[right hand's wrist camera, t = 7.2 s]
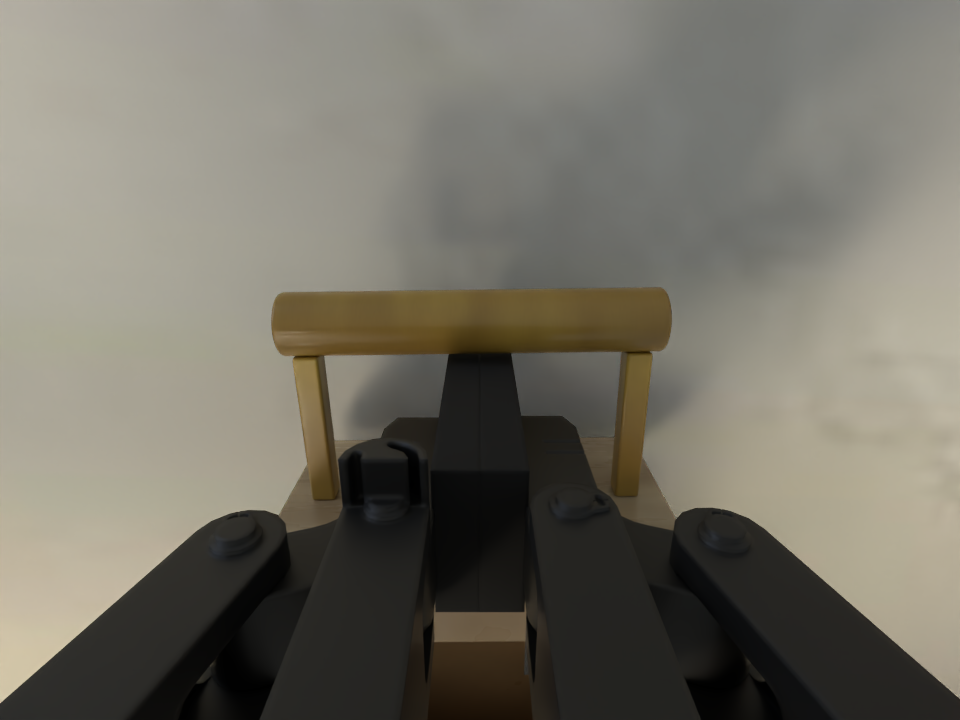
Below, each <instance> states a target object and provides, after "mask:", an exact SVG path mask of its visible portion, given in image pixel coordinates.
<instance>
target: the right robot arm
mask: <svg viewBox="0 0 960 720" xmlns="http://www.w3.org/2000/svg"><path fill="white" fill-rule="evenodd" d="M338 466H339V476H340V486H341V495H342V505H343V507H342V510H341V512H340V515H339V518H338V519H336V520H334V521H331V522H329V523H327V524H323V525H320V526H316V527H312V528H308V529H303V530H298V531H293V532H289V533H287V530H286V523H285V522H284V521H283V520H282V519H281V518H280V517H279V516H278V515H276V514H273V513H270V512H267V511H257V510H247V511H240V512H235V513H231V514H228V515H226V516H223V517H221V518H218V519H216V520H213V521H211V522H210V523H208V524H207V525H205V526H204V527H202V528H201V529H199V530H198V531H196V532H195V533H194V534H193V535H192V536H191V537H189V538H188V539H187V540H186V541H185V542H184V543H183V544H181V545H180V546H179V547H178V548H177V549H176V550H175V551H173V552H172V553H171V554H170V555H169V556H168V557H167V558H165V559H164V560H163V561H162V562H161V563H160V564H159V565H157V566H156V567H155V568H154V569H153V570H152V571H151V572H149V573H148V574H147V575H146V576H145V577H144V578H143V579H142V580H140V581H139V582H138V583H137V584H136V585H135V586H134V587H132V588H131V589H130V590H129V591H128V592H127V593H126V594H124V595H123V596H122V597H121V598H120V599H119V600H118V601H116V602H115V603H114V604H113V605H112V606H111V607H110V608H108V609H107V610H106V611H105V612H104V613H103V614H102V615H101V616H99V617H98V618H97V619H96V620H95V621H94V622H93V623H91V624H90V625H89V626H88V627H87V628H86V629H85V630H83V631H82V632H81V633H80V634H79V635H78V636H77V637H75V638H74V639H73V640H72V641H71V642H70V643H69V644H67V645H66V646H65V647H64V648H63V649H62V650H61V651H59V652H58V653H57V654H56V655H55V656H54V657H53V658H52V659H50V660H49V661H48V662H47V663H46V664H45V665H44V666H42V667H41V668H40V669H39V670H38V671H37V672H36V673H34V674H33V675H32V676H31V677H30V678H29V679H28V680H26V681H25V682H24V683H23V684H22V685H21V686H20V687H18V688H17V689H16V690H15V691H14V692H13V693H12V694H11V695H9V696H8V697H7V698H6V699H5V700H4V701H3V702H1V703H0V720H427V717H428V706H429V695H430V685H431V674H432V663H433V652H434V641H435V635H434V606H435V612H525V604H526V635H525V661H524V675H529V684H530V695H531V706H532V717H533V720H960V699H959V698H958V697H957V696H956V695H954V694H953V693H952V692H951V691H950V690H949V689H948V688H946V687H945V686H944V685H943V684H942V683H941V682H940V681H938V680H937V679H936V678H935V677H934V676H933V675H932V674H930V673H929V672H928V671H927V670H926V669H925V668H923V667H922V666H921V665H920V664H919V663H918V662H917V661H915V660H914V659H913V658H912V657H911V656H910V655H909V654H907V653H906V652H905V651H904V650H903V649H902V648H900V647H899V646H898V645H897V644H896V643H895V642H894V641H892V640H891V639H890V638H889V637H888V636H887V635H886V634H884V633H883V632H882V631H881V630H880V629H879V628H878V627H876V626H875V625H874V624H873V623H872V622H871V621H869V620H868V619H867V618H866V617H865V616H864V615H863V614H861V613H860V612H859V611H858V610H857V609H856V608H855V607H853V606H852V605H851V604H850V603H849V602H848V601H847V600H845V599H844V598H843V597H842V596H841V595H840V594H838V593H837V592H836V591H835V590H834V589H833V588H832V587H830V586H829V585H828V584H827V583H826V582H825V581H824V580H822V579H821V578H820V577H819V576H818V575H817V574H815V573H814V572H813V571H812V570H811V569H810V568H809V567H807V566H806V565H805V564H804V563H803V562H802V561H801V560H799V559H798V558H797V557H796V556H795V555H794V554H793V553H791V552H790V551H789V550H788V549H787V548H786V547H784V546H783V545H782V544H781V543H780V542H779V541H778V540H776V539H775V538H774V537H773V536H772V535H771V534H770V533H768V532H767V531H766V530H765V529H764V528H762V527H761V526H759V525H758V524H756V523H755V522H753V521H752V520H750V519H749V518H746V517H744V516H741V515H739V514H736V513H734V512H731V511H727V510H723V509H722V510H721V509H716V508H695V509H692V510H689V511H686V512H683V513H682V514H681V515H680V516H679V517H678V518H677V519H676V520H675V523H674V530H668V529H664V528H659V527H654V526H649V525H645V524H641V523H638V522H634V521H632V520H629V519H627V518H625V517H623V516H621V514H620V512H619V509H618V507H617V505H616V504H615V502H614V501H613V500H612V498H611V497H610V496H609V495H607V494H606V493H604V492H603V491H601V490H600V489H598V488H597V485H596V482H595V480H594V477H593V474H592V471H591V468H590V466H589V463H588V460H587V457H586V454H584V449H583V446H582V443H580V438H579V435H578V432H577V429H576V427H575V426H574V425H572V424H571V423H570V422H569V421H568V420H566V419H565V418H564V417H563V416H521V413H520V407H519V401H518V395H517V388H516V382H515V376H514V370H513V363H512V357H511V353H488V354H449V356H448V363H447V369H446V375H445V382H444V388H443V394H442V400H441V407H440V413H439V418H397V419H396V420H395V421H393V422H392V423H391V424H390V425H389V426H387V427H386V428H385V429H384V431H383V434H382V437H381V439H372V440H369V441H365V442H362V443H358V444H356V445H354V446H353V447H351V448H349V449H347V450H345V451H344V453H343V454H342V455H341V456H340V457H339V458H338Z"/></svg>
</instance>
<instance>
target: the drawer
mask: <svg viewBox="0 0 960 720" xmlns="http://www.w3.org/2000/svg"><path fill="white" fill-rule="evenodd" d="M671 324H672V312H671V305H670V300H669V297H668V294H667V292H666V291H665V290H664V289H663V288H660V287H643V288H568V289H493V290H418V291H342V292H283V293H280V294H279V295H278V296H277V297H276V299H275V301H274V304H273V309H272V317H271V326H272V334H273V339H274V343H275V346H276V348H277V350H278V352H279V353H280V354H282V355H284V356H295V357H294V358H293V367H294V374H295V381H296V388H297V395H298V402H299V409H300V416H301V423H302V430H303V437H304V444H305V451H306V458H307V466H306V467H305V469H304V471H303V473H302V475H301V476H300V478H299V480H298V482H297V484H296V485H295V487H294V489H293V491H292V493H291V494H290V496H289V498H288V500H287V502H286V503H285V505H284V507H283V509H282V511H281V512H280V514H279V517H280V518H281V519H282V520H283V521H284V522H285V523H286V530H287V533H289V532H293V531H298V530H303V529H308V528H312V527H316V526H320V525H323V524H327V523H329V522H331V521H334V520H336V519H338V518H339V515H340V512H341V510H342V507H343V505H342V495H341V486H340V476H339V466H338V458H339V457H340V456H341V455H342V454H343V453H344V451H345V450H347V449H349V448H351V447H353V446H354V445H356V444H358V443H362V442H365V441H369V440H352V441H334V434H333V426H332V417H331V409H330V401H329V393H328V384H327V376H326V368H325V360H324V356H333V355H410V354H488V353H566V352H621V364H620V376H619V388H618V400H617V412H616V424H615V436H614V437H596V438H580V443H582V446H583V449H584V454H586V457H587V460H588V463H589V466H590V468H591V471H592V474H593V477H594V480H595V482H596V485H597V488H598V489H600V490H601V491H603V492H604V493H606V494H607V495H609V496H610V497H611V498H612V500H613V501H614V502H615V504H616V505H617V507H618V509H619V512H620V514H621V516H623V517H625V518H627V519H629V520H632V521H634V522H638V523H641V524H645V525H649V526H654V527H659V528H664V529H668V530H674V523H675V520H676V518H675V516H674V515H673V513H672V511H671V509H670V507H669V505H668V503H667V502H666V500H665V498H664V496H663V494H662V492H661V490H660V489H659V487H658V485H657V483H656V481H655V479H654V478H653V476H652V474H651V472H650V470H649V468H648V466H647V465H646V463H645V461H644V459H643V457H642V452H643V443H644V433H645V423H646V414H647V404H648V395H649V385H650V376H651V366H652V357H653V356H652V353H651V352H650V351H661V350H663V349H664V348H665V347H666V345H667V343H668V341H669V337H670V332H671ZM434 635H435V641H434V652H433V663H432V674H431V685H430V695H429V706H428V717H427V720H533V717H532V706H531V695H530V684H529V675H524V661H525V635H526V604H525V612H435V606H434Z"/></svg>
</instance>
